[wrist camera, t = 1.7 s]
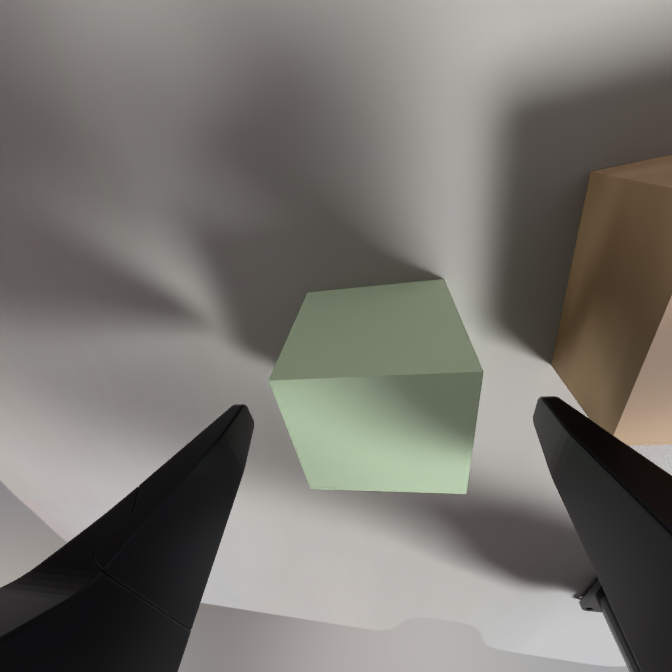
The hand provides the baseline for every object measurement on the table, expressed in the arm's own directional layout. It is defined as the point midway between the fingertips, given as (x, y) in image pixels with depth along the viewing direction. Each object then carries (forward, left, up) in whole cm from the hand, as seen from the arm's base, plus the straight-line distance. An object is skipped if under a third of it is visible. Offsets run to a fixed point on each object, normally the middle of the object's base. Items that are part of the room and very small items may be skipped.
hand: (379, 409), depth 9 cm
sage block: (0, 0, -4) cm, 4 cm away
